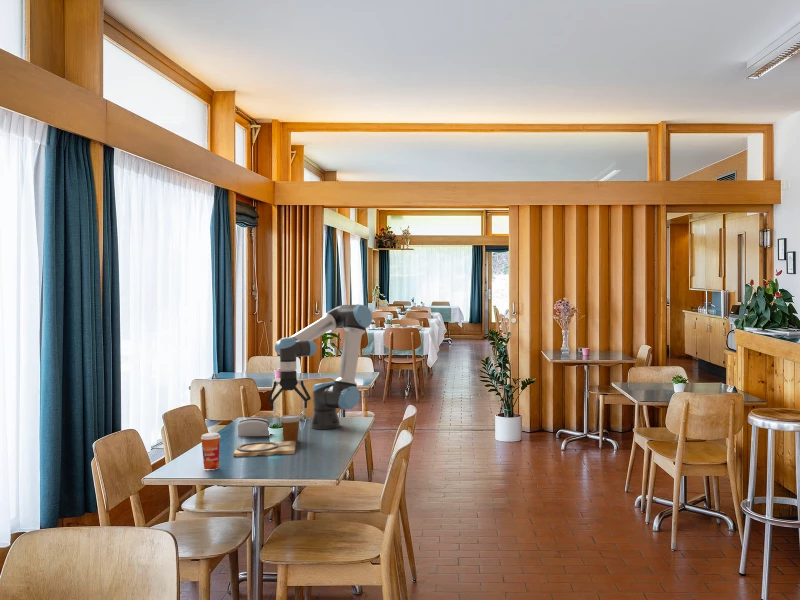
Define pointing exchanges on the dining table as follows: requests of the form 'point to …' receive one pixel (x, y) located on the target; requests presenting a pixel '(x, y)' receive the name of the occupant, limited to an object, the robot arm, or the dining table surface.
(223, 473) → the dining table surface
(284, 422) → the disposable coffee cup
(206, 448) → the paper cup
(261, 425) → the napkin holder
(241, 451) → the wooden board
